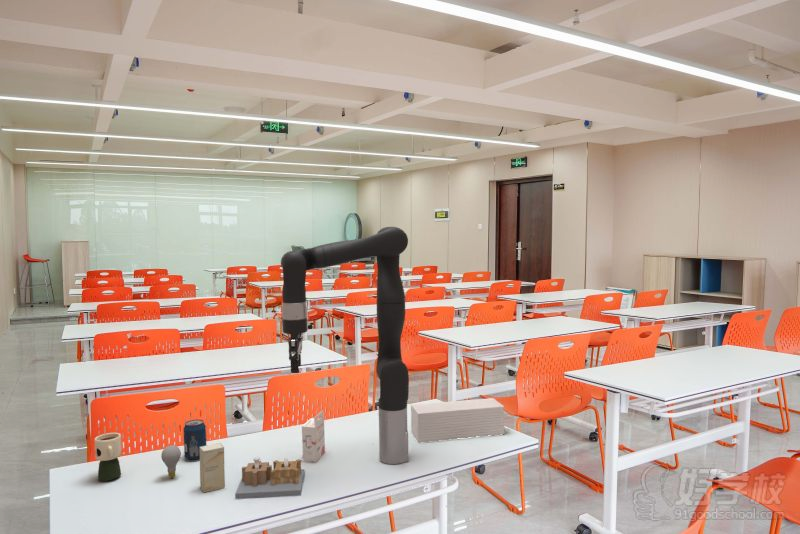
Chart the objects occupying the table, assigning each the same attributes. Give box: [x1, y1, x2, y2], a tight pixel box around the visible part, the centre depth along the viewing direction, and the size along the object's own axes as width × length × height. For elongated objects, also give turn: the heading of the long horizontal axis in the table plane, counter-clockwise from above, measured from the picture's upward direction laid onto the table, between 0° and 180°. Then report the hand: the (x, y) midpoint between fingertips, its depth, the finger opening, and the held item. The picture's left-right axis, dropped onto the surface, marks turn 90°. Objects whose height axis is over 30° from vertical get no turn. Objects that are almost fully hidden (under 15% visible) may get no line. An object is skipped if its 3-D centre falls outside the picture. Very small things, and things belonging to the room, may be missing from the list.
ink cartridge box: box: [301, 409, 326, 463], centre depth 183 cm, size 9×5×15 cm, turn 168°
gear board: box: [234, 456, 306, 500], centre depth 163 cm, size 18×14×8 cm
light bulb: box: [160, 444, 182, 479], centre depth 169 cm, size 6×5×10 cm
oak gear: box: [270, 459, 302, 485], centre depth 164 cm, size 8×8×4 cm
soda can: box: [183, 419, 207, 462], centre depth 184 cm, size 7×7×12 cm
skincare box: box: [199, 442, 226, 493], centre depth 162 cm, size 6×4×12 cm
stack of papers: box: [410, 397, 505, 444], centre depth 203 cm, size 32×11×11 cm, turn 102°
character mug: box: [94, 432, 123, 482], centre depth 169 cm, size 11×7×13 cm, turn 34°
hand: (296, 369), depth 171 cm, fingers open, 8 cm apart
